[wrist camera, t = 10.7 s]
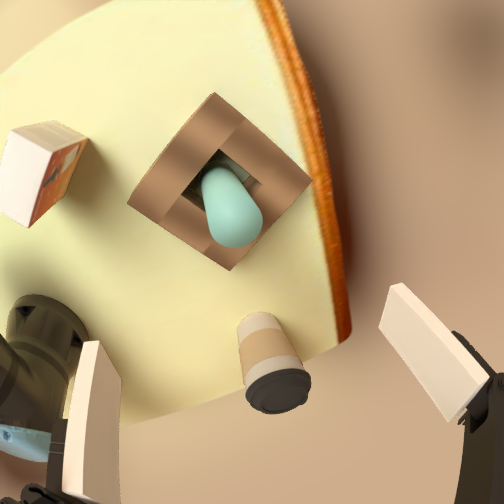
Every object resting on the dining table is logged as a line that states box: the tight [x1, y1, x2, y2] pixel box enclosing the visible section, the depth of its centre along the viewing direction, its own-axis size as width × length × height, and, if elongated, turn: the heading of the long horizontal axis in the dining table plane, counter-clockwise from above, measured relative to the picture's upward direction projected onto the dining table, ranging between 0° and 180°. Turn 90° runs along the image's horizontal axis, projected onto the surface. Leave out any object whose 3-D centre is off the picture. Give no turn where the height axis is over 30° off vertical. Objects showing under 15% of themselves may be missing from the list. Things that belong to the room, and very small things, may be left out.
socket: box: [127, 92, 313, 271], centre depth 31 cm, size 14×14×5 cm
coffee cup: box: [237, 312, 311, 414], centre depth 40 cm, size 9×9×15 cm
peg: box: [199, 161, 263, 248], centre depth 27 cm, size 4×4×14 cm
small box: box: [0, 121, 88, 228], centre depth 23 cm, size 8×6×10 cm
